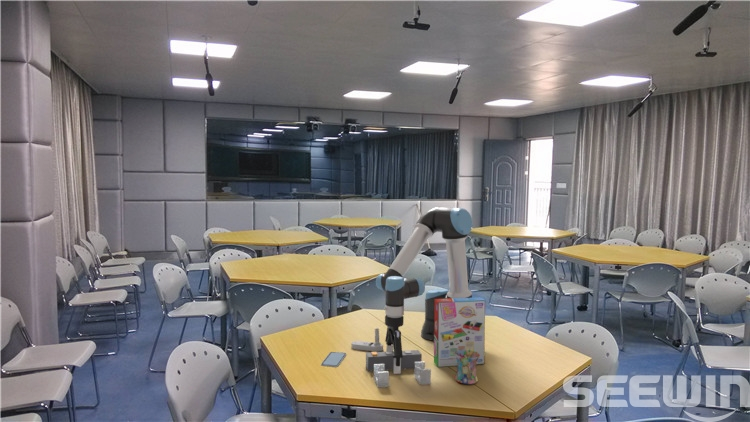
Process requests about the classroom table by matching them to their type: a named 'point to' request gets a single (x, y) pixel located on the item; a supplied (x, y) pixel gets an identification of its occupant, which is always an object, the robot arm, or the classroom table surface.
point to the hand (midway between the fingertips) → (393, 367)
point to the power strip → (392, 359)
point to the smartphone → (333, 359)
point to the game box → (458, 329)
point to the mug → (466, 366)
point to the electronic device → (369, 344)
